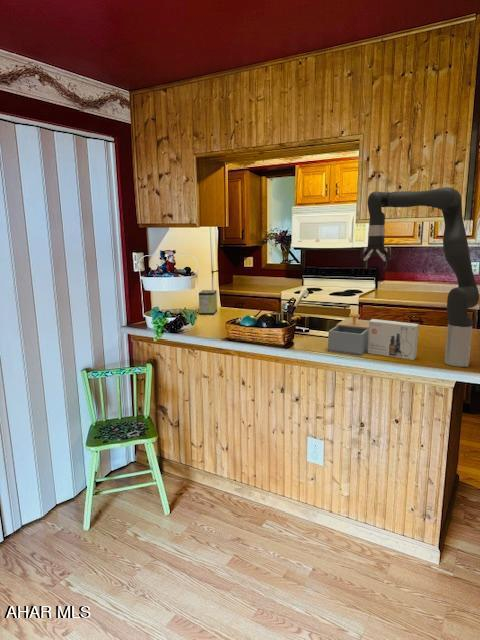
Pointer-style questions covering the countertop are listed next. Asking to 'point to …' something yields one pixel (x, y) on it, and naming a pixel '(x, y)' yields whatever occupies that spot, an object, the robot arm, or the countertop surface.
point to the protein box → (207, 302)
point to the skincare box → (393, 338)
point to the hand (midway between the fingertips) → (374, 268)
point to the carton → (348, 340)
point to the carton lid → (354, 322)
